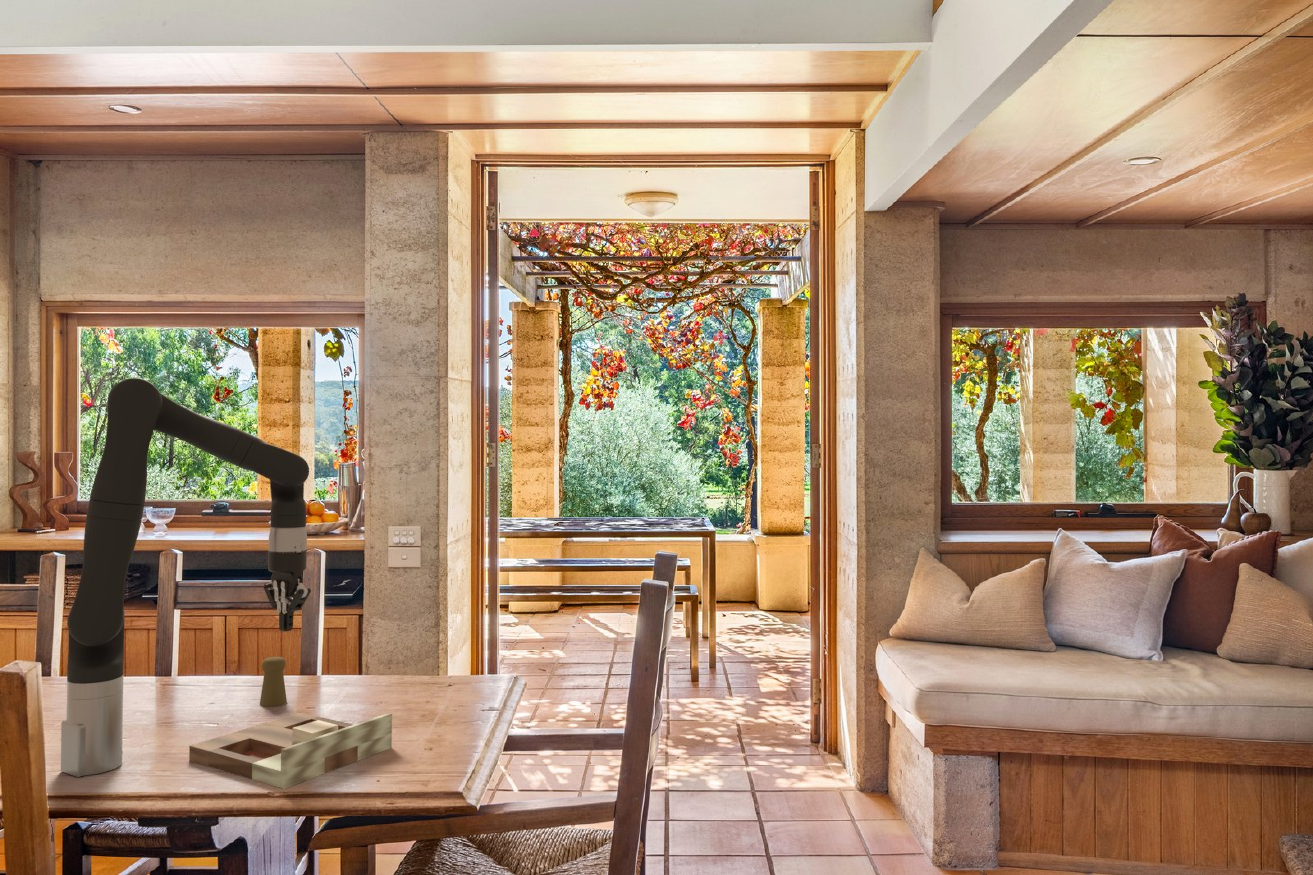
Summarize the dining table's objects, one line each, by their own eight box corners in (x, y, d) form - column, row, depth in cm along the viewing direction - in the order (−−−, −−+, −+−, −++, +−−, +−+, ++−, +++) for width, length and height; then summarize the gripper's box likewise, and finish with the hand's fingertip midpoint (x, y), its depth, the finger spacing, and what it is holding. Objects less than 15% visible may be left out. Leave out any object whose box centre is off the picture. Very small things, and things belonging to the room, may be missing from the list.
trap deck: (284, 788, 164) (284, 750, 164) (189, 761, 178) (189, 725, 178) (391, 747, 187) (392, 713, 187) (299, 725, 201) (300, 694, 201)
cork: (276, 707, 214) (277, 661, 214) (254, 706, 216) (254, 659, 216) (292, 700, 220) (292, 655, 220) (269, 699, 221) (270, 654, 222)
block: (311, 754, 174) (312, 733, 174) (292, 748, 177) (292, 727, 177) (337, 745, 179) (338, 725, 179) (318, 740, 182) (318, 720, 182)
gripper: (252, 547, 191) (250, 629, 191) (292, 552, 185) (290, 637, 184) (283, 544, 198) (281, 624, 198) (323, 549, 191) (321, 631, 191)
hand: (286, 630), depth 191 cm, fingers closed
